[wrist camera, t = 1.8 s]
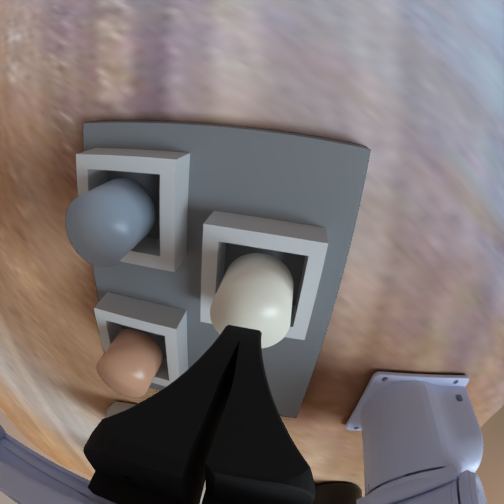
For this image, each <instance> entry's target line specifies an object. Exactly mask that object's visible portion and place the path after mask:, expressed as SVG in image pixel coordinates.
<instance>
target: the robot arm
mask: <svg viewBox="0 0 504 504" xmlns="http://www.w3.org/2000/svg"><path fill="white" fill-rule="evenodd" d="M261 336H262V333H261V331H260V330H255V329H249V328H244V327H238V326H233V325H227V326H226V327H225V328H224V330H223V331H222V333H221V334H220V335H219V337H218V338H217V339H216V340H215V342H214V343H213V344H212V345H211V346H210V348H209V349H208V350H207V351H206V352H205V353H204V354H203V355H202V356H201V357H200V358H199V359H198V360H197V361H196V362H195V363H194V364H193V365H192V366H191V367H190V368H189V369H188V370H187V371H186V372H184V373H183V374H182V375H181V376H180V377H178V378H177V379H176V380H175V381H173V382H172V383H171V384H169V385H168V386H166V387H165V388H164V389H162V390H161V391H159V392H158V393H156V394H155V395H153V396H151V397H150V398H148V399H146V400H144V401H142V402H140V403H139V404H137V405H135V406H133V407H131V408H129V409H127V410H125V411H122V412H120V413H117V414H115V415H112V416H110V417H107V418H104V419H102V421H101V422H100V423H99V424H98V426H97V427H96V428H95V430H94V431H93V432H92V434H91V436H90V438H89V439H88V441H87V443H86V445H85V447H84V450H83V451H84V454H85V456H86V458H87V459H88V461H89V462H90V464H91V465H92V466H93V468H94V469H95V473H94V475H93V477H92V479H91V481H89V480H87V479H85V478H83V477H80V476H79V475H77V474H74V473H72V472H70V471H69V470H67V469H65V468H63V467H61V466H59V465H57V464H55V463H54V462H52V461H50V460H48V459H46V458H45V457H43V456H41V455H40V454H38V453H36V452H34V451H33V450H31V449H30V448H28V447H26V446H24V445H23V444H22V443H20V442H18V441H17V440H15V439H14V438H12V437H11V436H9V435H8V434H7V433H6V432H5V431H4V429H3V428H2V426H1V425H0V491H2V492H3V493H4V494H6V495H7V496H8V497H10V498H11V499H12V500H14V501H15V502H17V503H18V504H199V503H200V499H201V495H202V491H203V487H204V483H205V478H206V490H205V494H204V497H203V501H202V504H312V503H313V502H314V500H315V485H314V480H313V476H312V472H311V469H310V466H309V465H308V463H307V462H306V461H305V459H304V458H303V456H302V455H301V453H300V452H299V450H298V449H297V447H296V446H295V444H294V442H293V441H292V439H291V437H290V435H289V433H288V431H287V429H286V427H285V425H284V424H283V422H282V420H281V417H280V415H279V413H278V410H277V408H276V405H275V403H274V400H273V397H272V394H271V391H270V388H269V384H268V381H267V377H266V373H265V368H264V363H263V357H262V348H261ZM384 377H385V378H384ZM468 382H469V377H468V376H467V375H431V374H410V373H395V372H382V371H378V372H376V373H374V374H373V375H372V377H371V379H370V381H369V383H368V385H367V387H366V389H365V391H364V393H363V395H362V396H361V398H360V400H359V402H358V404H357V406H356V407H355V409H354V411H353V413H352V414H351V416H350V418H349V420H348V421H347V423H346V429H347V430H356V431H362V440H363V456H364V477H365V497H362V498H359V499H357V504H487V501H486V497H485V493H484V490H483V486H482V483H481V481H480V479H479V476H478V475H477V474H476V473H475V472H476V470H477V469H478V467H479V464H480V462H481V459H482V453H483V438H482V433H481V430H480V427H479V424H478V421H477V418H476V415H475V412H474V409H473V406H472V404H471V401H470V398H469V395H468V393H467V390H466V387H465V386H466V385H467V383H468Z"/></svg>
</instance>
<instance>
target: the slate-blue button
mask: <svg viewBox="0 0 504 504" xmlns="http://www.w3.org/2000/svg"><path fill="white" fill-rule="evenodd" d="M154 220H155V209H154V205H153V201H152V199H151V197H150V195H149V193H148V192H147V191H146V189H145V188H144V187H143V186H142V185H140V184H139V183H138V182H136V181H134V180H132V179H129V178H124V177H120V178H115V179H112V180H110V181H108V182H106V183H104V184H102V185H100V186H98V187H96V188H94V189H92V190H90V191H88V192H86V193H84V194H82V195H80V196H78V197H77V198H75V199H74V200H73V201H72V202H71V204H70V205H69V207H68V209H67V213H66V219H65V224H66V231H67V235H68V238H69V240H70V242H71V244H72V246H73V248H74V249H75V250H76V252H77V253H78V254H79V255H80V256H81V257H82V258H83V259H84V260H86V261H87V262H89V263H91V264H93V265H96V266H99V267H109V266H112V265H115V264H116V263H118V262H119V261H120V260H121V259H122V258H123V257H124V256H125V255H126V254H127V253H128V252H129V251H131V250H132V249H133V248H134V247H135V246H136V245H137V244H138V243H139V242H140V241H141V240H142V239H143V238H144V237H146V236H147V235H148V234H149V232H150V231H151V229H152V227H153V224H154Z"/></svg>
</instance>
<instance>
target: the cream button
mask: <svg viewBox="0 0 504 504" xmlns="http://www.w3.org/2000/svg"><path fill="white" fill-rule="evenodd" d="M293 287H294V283H293V277H292V275H291V272H290V271H289V269H288V268H287V266H286V265H285V264H284V263H283V262H281V261H280V260H279V259H277V258H275V257H273V256H271V255H268V254H264V253H249V254H245V255H243V256H240V257H239V258H237V259H235V260H234V261H233V262H232V263H231V264H230V266H229V267H228V269H227V271H226V273H225V275H224V278H223V280H222V282H221V284H220V286H219V288H218V291H217V293H216V295H215V297H214V299H213V302H212V304H211V307H210V318H211V322H212V324H213V326H214V328H215V330H216V331H217V332H218V333H219V334H221V333H222V331H223V330H224V328H225V327H226V326H227V325H233V326H238V327H244V328H249V329H255V330H260V331H261V333H262V336H261V348H267V347H270V346H273V345H275V344H276V343H278V342H279V341H281V340H282V339H283V338H284V337H285V335H286V334H287V332H288V330H289V327H290V321H291V310H292V299H293Z"/></svg>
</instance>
